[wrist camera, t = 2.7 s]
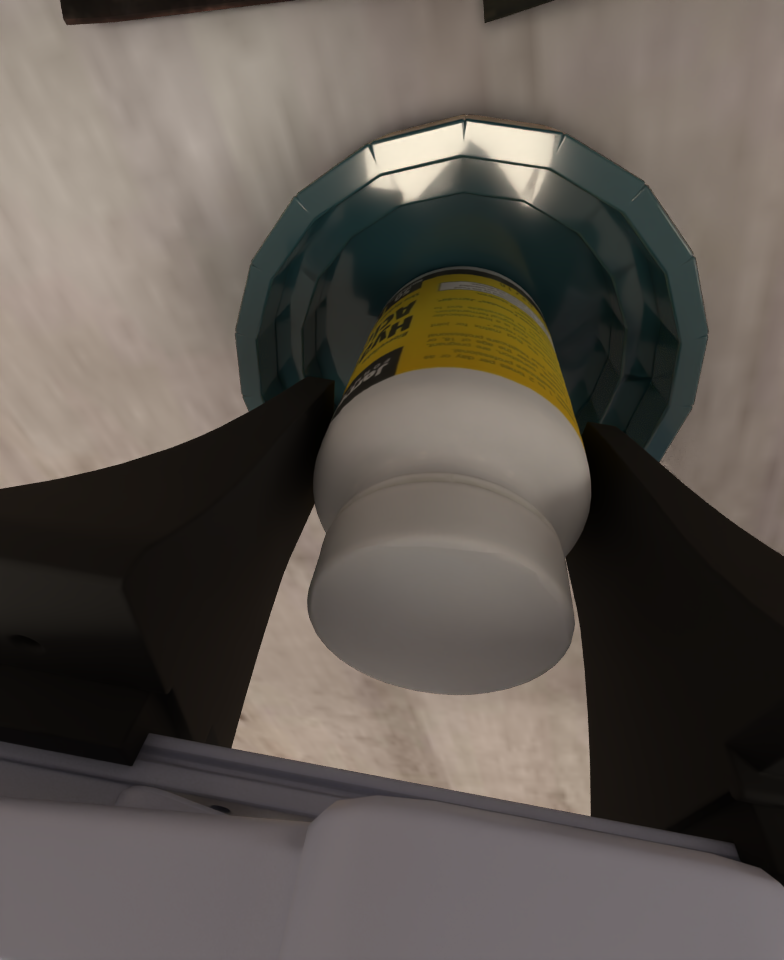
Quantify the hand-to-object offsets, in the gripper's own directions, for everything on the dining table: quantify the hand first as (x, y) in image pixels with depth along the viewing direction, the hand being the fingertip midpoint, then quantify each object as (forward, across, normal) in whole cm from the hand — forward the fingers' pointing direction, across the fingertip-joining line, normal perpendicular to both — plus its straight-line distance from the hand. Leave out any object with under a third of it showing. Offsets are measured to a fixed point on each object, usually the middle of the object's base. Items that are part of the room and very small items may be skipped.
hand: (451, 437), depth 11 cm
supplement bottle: (+5, 0, 0) cm, 5 cm away
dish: (+5, 0, 0) cm, 5 cm away
